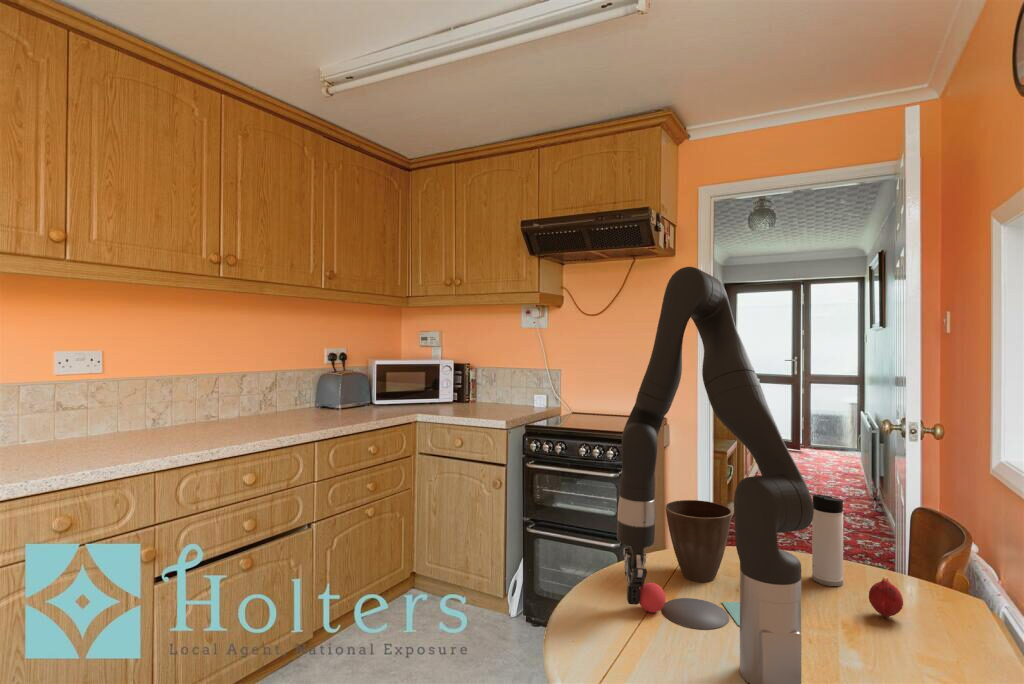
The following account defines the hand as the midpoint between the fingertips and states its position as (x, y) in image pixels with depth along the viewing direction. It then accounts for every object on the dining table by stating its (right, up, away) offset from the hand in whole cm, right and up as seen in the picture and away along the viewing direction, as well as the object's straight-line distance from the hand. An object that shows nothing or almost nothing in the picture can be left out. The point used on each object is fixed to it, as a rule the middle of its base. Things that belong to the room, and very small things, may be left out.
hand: (632, 602), depth 117 cm
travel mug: (+48, -2, +15) cm, 50 cm away
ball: (+4, +1, 0) cm, 4 cm away
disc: (+13, -2, -1) cm, 13 cm away
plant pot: (+19, -2, +18) cm, 26 cm away
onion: (+51, -2, -2) cm, 51 cm away
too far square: (+25, -2, -1) cm, 25 cm away
